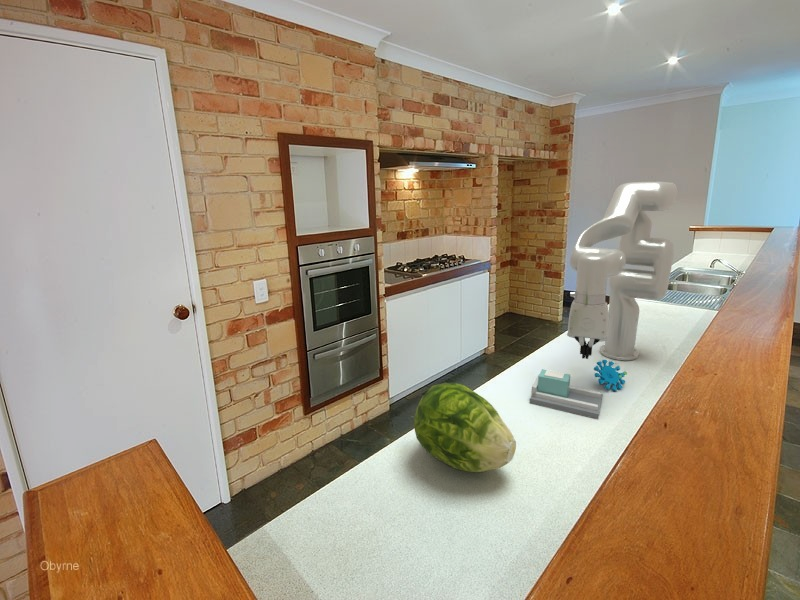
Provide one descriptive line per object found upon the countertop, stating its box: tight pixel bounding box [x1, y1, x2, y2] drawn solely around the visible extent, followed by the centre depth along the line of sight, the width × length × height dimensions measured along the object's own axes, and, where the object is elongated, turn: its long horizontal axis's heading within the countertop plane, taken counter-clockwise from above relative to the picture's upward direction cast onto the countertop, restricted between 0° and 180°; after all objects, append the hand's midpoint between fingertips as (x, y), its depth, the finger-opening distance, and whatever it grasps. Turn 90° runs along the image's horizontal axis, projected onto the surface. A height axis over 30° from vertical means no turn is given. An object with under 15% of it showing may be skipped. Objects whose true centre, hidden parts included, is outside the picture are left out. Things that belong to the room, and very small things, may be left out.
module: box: [537, 368, 571, 398], centre depth 117 cm, size 5×8×6 cm, turn 59°
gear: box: [593, 359, 628, 392], centre depth 125 cm, size 11×6×10 cm
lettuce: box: [413, 382, 517, 473], centre depth 90 cm, size 18×23×19 cm
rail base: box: [529, 374, 604, 420], centre depth 116 cm, size 12×18×4 cm, turn 59°
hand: (585, 356), depth 117 cm, fingers closed
